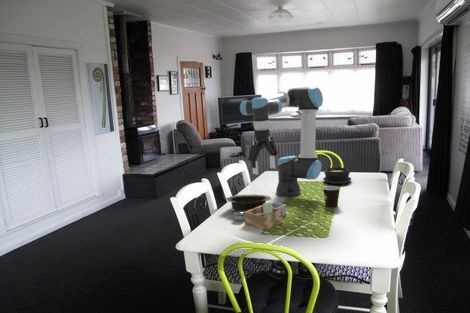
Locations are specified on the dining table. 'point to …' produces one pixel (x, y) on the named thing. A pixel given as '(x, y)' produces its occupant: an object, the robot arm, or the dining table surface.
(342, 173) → the casserole
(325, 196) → the coffee mug
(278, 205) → the grey tub
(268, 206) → the pale green block
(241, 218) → the pewter tin
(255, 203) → the stone bowl
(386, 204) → the dining table surface
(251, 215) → the oak crate
